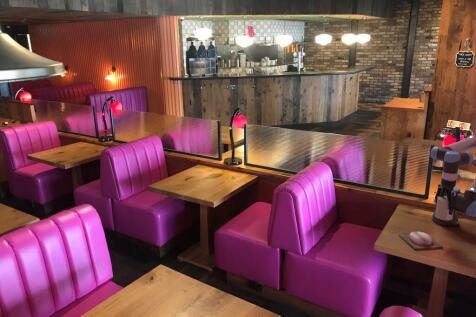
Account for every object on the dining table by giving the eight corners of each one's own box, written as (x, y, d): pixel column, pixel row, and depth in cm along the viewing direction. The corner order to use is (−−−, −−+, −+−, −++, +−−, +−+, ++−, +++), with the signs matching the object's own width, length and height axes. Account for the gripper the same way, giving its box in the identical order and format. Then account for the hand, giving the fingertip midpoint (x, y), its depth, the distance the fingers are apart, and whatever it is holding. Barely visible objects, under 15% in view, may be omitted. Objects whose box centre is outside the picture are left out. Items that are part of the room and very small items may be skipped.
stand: (425, 234, 239) (426, 229, 238) (442, 248, 223) (443, 242, 222) (399, 235, 237) (399, 230, 236) (414, 250, 221) (415, 244, 220)
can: (454, 221, 225) (458, 201, 221) (437, 219, 226) (440, 200, 223) (449, 214, 233) (452, 195, 230) (433, 213, 235) (435, 194, 232)
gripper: (431, 173, 233) (426, 208, 239) (455, 186, 212) (449, 224, 219) (443, 172, 234) (438, 207, 240) (468, 185, 213) (461, 223, 220)
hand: (443, 215), depth 229 cm, fingers closed on can, 9 cm apart
